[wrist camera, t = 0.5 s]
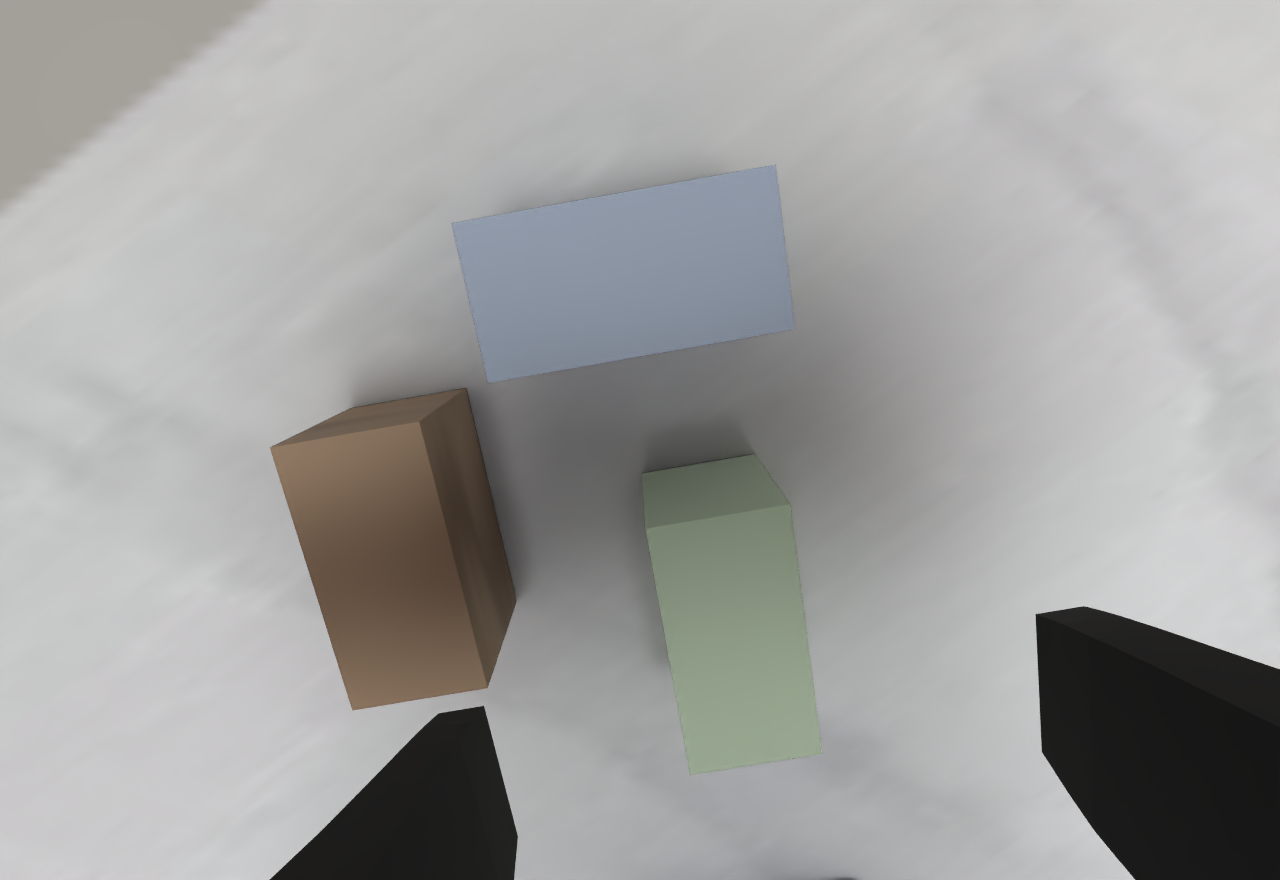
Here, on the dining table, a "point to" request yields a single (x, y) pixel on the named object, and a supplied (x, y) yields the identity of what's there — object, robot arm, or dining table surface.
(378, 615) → the walnut brick
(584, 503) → the dining table surface
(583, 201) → the slate brick
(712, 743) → the sage brick
